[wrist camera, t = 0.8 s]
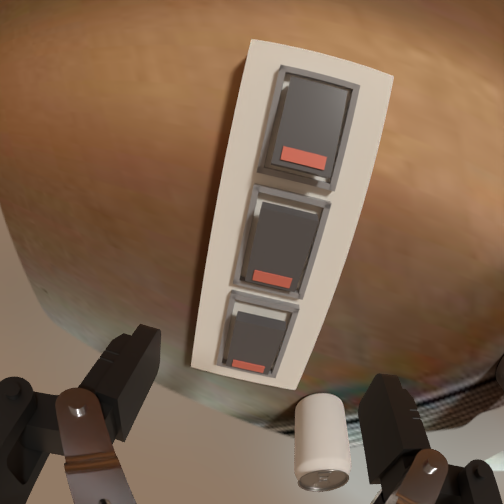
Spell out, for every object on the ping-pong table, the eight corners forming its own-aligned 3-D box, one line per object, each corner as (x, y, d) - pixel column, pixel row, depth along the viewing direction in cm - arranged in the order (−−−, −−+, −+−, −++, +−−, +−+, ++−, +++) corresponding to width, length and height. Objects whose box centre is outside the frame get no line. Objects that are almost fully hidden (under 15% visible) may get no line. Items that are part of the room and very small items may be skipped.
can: (294, 422, 40) (293, 494, 28) (295, 391, 37) (294, 470, 26) (340, 420, 39) (348, 490, 28) (345, 389, 37) (357, 465, 25)
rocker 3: (286, 321, 28) (285, 332, 27) (269, 366, 32) (267, 376, 31) (238, 310, 28) (235, 321, 27) (227, 356, 32) (225, 366, 31)
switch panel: (383, 81, 24) (396, 74, 20) (295, 372, 36) (295, 394, 33) (254, 48, 24) (250, 36, 21) (197, 350, 36) (188, 371, 33)
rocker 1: (344, 95, 22) (348, 90, 21) (327, 178, 23) (330, 177, 22) (290, 81, 22) (290, 75, 21) (270, 164, 23) (270, 162, 22)
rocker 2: (317, 214, 24) (318, 222, 23) (295, 283, 28) (294, 293, 27) (262, 201, 24) (260, 208, 23) (246, 272, 28) (244, 281, 27)
